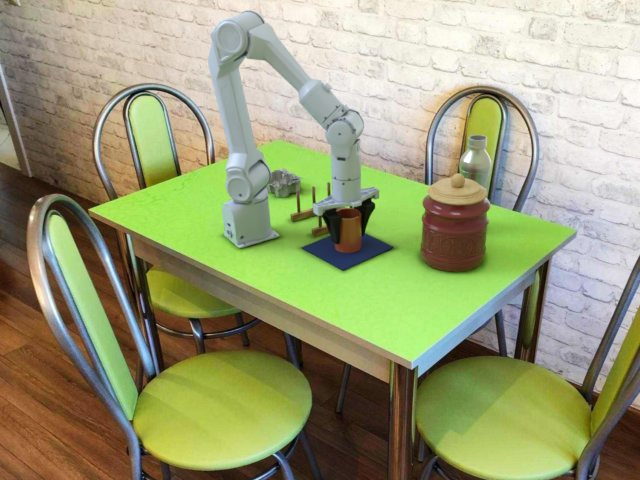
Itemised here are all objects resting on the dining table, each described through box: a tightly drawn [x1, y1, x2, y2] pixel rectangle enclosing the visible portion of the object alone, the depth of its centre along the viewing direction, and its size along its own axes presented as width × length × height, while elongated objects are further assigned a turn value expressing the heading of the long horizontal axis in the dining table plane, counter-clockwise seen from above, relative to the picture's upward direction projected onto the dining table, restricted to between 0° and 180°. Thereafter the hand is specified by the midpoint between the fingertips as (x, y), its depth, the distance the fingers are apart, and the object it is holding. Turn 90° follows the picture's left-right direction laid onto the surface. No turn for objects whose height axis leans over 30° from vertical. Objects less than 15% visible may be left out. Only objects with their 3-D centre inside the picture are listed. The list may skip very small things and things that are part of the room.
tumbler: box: [334, 207, 362, 253], centre depth 142 cm, size 6×6×8 cm
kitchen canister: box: [420, 173, 491, 272], centre depth 135 cm, size 13×13×18 cm
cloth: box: [301, 232, 395, 272], centre depth 144 cm, size 14×13×1 cm
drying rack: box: [289, 181, 354, 238], centre depth 153 cm, size 12×10×7 cm
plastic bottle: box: [458, 134, 492, 190], centre depth 146 cm, size 6×7×20 cm
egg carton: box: [267, 168, 303, 198], centre depth 169 cm, size 11×8×4 cm
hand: (347, 238), depth 143 cm, fingers closed on tumbler, 5 cm apart
